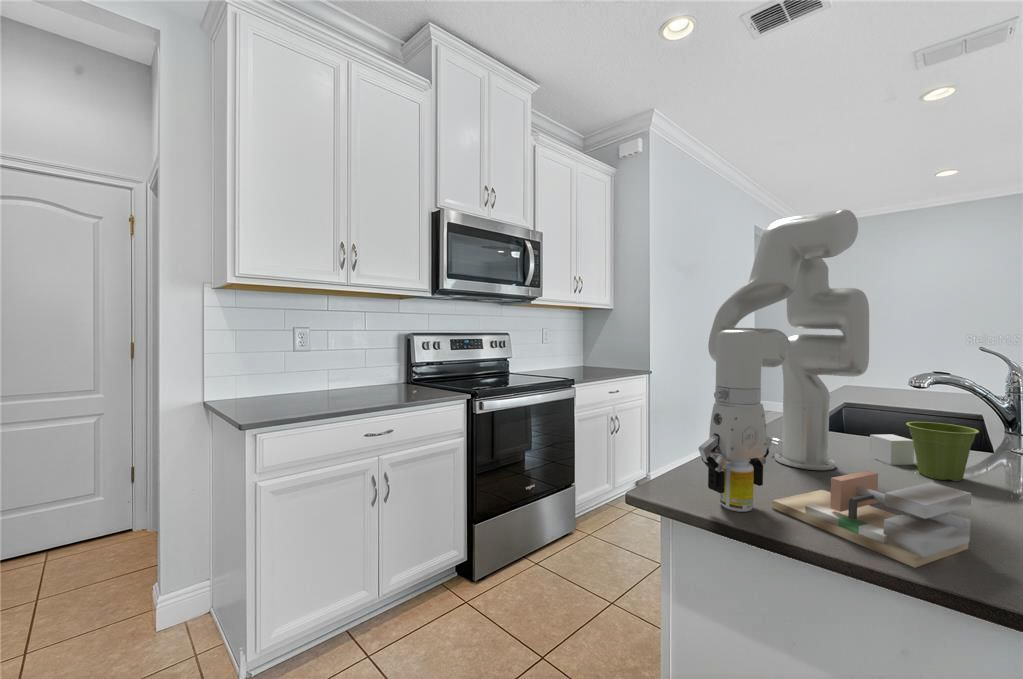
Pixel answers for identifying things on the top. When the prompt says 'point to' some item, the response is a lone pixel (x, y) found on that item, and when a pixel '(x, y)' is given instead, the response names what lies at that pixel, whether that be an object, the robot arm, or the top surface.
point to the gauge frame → (891, 522)
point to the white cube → (892, 449)
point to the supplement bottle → (738, 486)
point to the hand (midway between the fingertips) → (735, 486)
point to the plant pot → (941, 449)
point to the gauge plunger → (868, 496)
